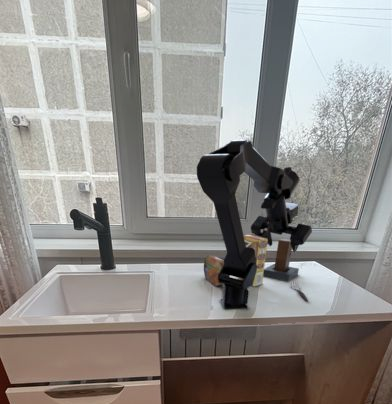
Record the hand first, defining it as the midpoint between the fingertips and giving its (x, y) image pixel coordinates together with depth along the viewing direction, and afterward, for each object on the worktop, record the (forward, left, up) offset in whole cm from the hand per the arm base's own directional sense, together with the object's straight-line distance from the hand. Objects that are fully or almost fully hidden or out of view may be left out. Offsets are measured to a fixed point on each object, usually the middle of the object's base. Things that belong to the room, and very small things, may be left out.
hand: (282, 248), depth 97 cm
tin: (-23, -1, -12) cm, 26 cm away
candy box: (-11, -2, -12) cm, 16 cm away
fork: (+3, -13, -12) cm, 17 cm away
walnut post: (+3, +6, -11) cm, 13 cm away
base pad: (+3, +5, -11) cm, 13 cm away
